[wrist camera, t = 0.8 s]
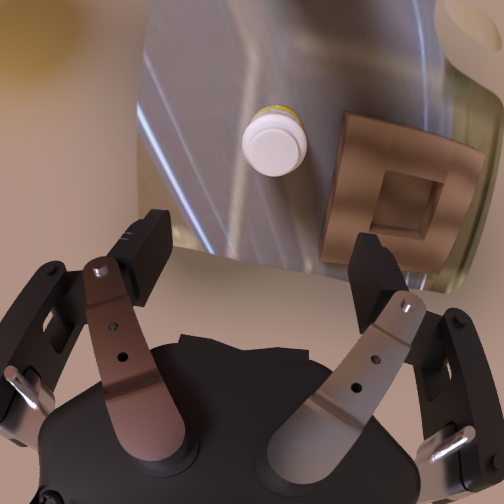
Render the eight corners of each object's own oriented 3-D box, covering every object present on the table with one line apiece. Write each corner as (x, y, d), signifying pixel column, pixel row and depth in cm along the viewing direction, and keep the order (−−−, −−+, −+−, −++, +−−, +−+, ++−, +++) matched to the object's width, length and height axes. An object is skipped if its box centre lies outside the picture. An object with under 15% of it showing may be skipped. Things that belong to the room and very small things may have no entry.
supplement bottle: (286, 160, 32) (286, 198, 24) (242, 136, 31) (225, 166, 23) (312, 119, 29) (323, 142, 21) (266, 94, 28) (258, 106, 20)
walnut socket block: (343, 111, 28) (349, 115, 26) (473, 147, 27) (485, 155, 25) (317, 247, 39) (319, 261, 36) (431, 261, 38) (438, 274, 35)
